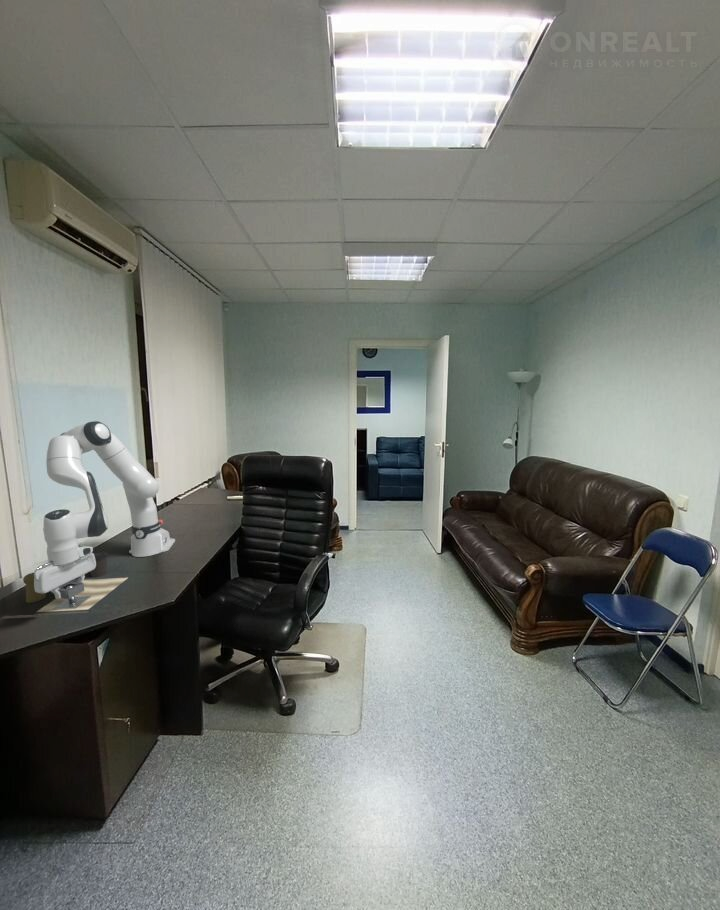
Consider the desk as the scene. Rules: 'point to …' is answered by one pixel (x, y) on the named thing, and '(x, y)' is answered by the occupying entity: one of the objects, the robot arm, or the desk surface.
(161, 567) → the desk surface
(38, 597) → the cork
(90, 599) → the board
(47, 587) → the robot arm
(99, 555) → the coffee cup
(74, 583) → the link
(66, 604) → the post
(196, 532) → the desk surface
